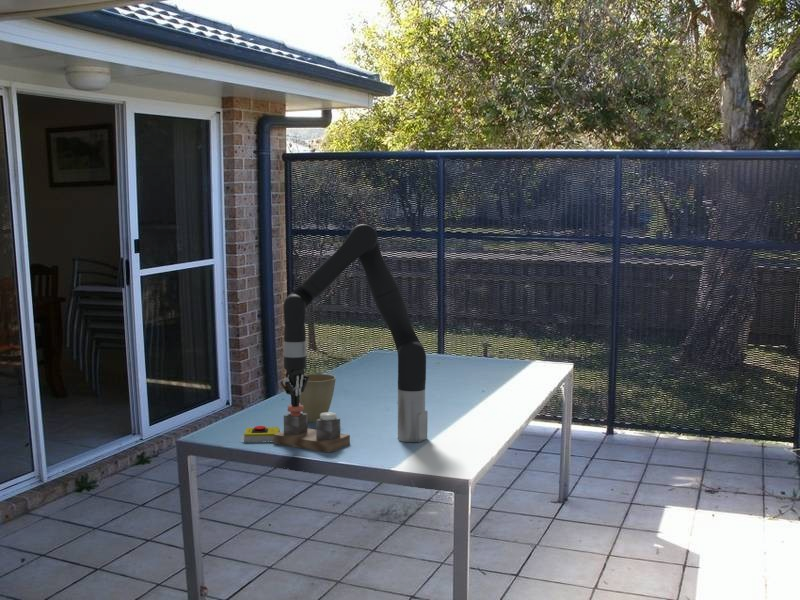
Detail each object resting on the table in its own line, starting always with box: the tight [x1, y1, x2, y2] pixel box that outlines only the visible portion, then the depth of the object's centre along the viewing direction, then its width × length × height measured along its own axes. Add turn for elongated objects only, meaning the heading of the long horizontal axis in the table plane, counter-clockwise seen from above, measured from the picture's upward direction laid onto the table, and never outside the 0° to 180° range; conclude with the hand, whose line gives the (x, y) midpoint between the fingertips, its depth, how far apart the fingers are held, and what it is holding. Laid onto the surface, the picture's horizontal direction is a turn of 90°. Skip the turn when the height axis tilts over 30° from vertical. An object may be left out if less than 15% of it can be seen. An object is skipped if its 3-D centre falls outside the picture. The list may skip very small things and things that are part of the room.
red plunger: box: [287, 403, 303, 416], centre depth 269 cm, size 5×5×7 cm
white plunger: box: [320, 411, 337, 421], centre depth 262 cm, size 5×5×7 cm
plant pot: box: [299, 373, 337, 423], centre depth 297 cm, size 15×15×16 cm
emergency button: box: [240, 425, 281, 443], centre depth 272 cm, size 9×4×15 cm
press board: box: [273, 412, 351, 453], centre depth 266 cm, size 22×12×9 cm, turn 61°
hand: (295, 406), depth 268 cm, fingers closed
